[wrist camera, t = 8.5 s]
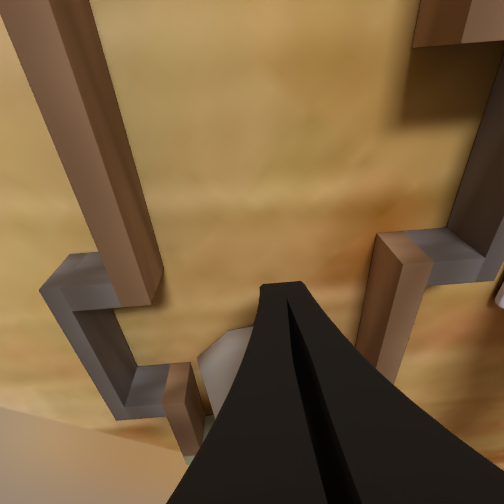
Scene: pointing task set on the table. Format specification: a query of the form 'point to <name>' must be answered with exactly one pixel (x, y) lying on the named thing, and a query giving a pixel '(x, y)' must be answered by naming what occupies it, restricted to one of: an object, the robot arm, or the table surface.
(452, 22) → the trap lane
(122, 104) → the table surface
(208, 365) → the flask
